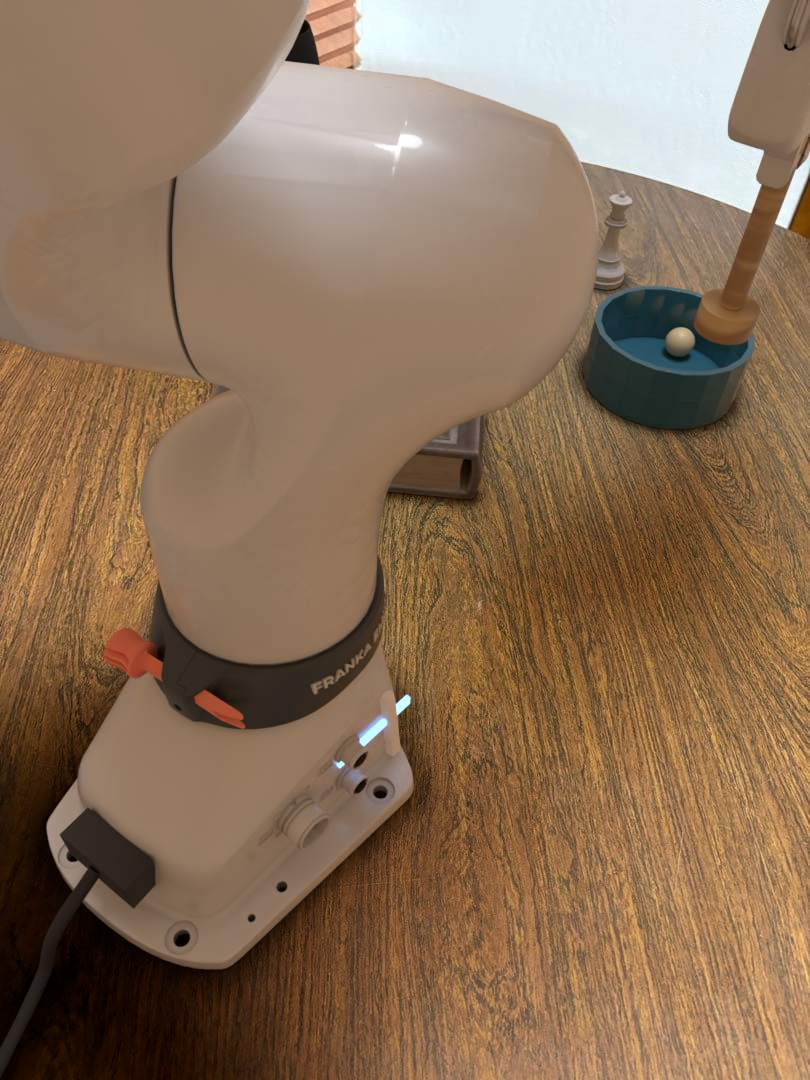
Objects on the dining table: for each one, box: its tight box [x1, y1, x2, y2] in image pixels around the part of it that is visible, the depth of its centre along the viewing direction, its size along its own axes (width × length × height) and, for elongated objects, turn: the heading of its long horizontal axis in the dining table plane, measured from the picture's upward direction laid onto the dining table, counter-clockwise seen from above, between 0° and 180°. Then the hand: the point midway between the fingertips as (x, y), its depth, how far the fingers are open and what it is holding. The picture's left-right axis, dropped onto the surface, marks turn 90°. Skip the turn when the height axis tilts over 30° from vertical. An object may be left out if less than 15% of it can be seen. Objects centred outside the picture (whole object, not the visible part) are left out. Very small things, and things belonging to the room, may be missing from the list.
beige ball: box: [665, 327, 695, 357], centre depth 83 cm, size 3×3×3 cm
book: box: [210, 384, 485, 500], centre depth 79 cm, size 30×22×5 cm
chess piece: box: [594, 190, 633, 291], centre depth 91 cm, size 4×4×10 cm
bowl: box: [582, 285, 756, 430], centre depth 80 cm, size 14×14×6 cm
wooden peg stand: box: [694, 133, 810, 345], centre depth 54 cm, size 4×4×17 cm
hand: (779, 173), depth 52 cm, fingers closed on wooden peg stand, 2 cm apart
